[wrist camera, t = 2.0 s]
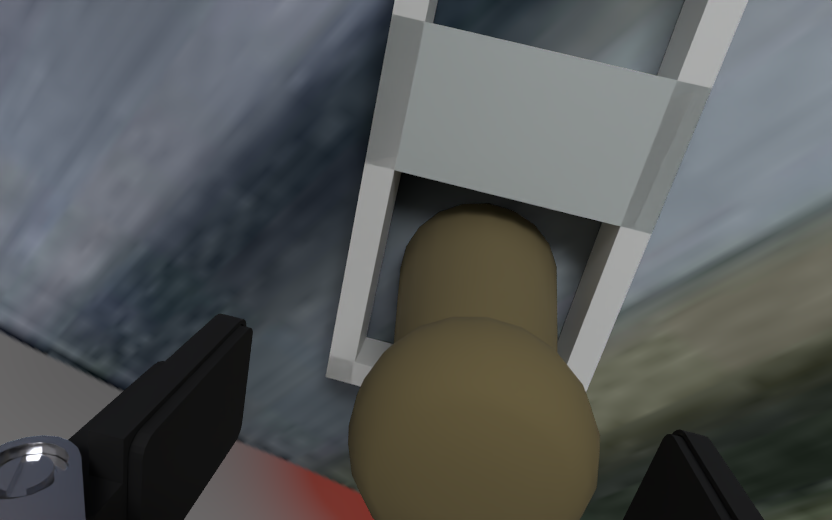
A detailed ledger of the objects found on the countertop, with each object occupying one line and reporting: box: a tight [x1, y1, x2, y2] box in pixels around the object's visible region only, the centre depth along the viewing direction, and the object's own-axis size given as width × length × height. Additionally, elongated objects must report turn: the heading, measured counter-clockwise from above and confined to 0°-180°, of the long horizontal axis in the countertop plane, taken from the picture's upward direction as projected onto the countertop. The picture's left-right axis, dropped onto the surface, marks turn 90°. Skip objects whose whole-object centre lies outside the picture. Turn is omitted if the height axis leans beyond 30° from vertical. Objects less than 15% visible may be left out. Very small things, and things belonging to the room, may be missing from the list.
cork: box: [348, 203, 600, 520], centre depth 14 cm, size 6×6×11 cm
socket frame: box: [326, 0, 748, 392], centre depth 16 cm, size 10×22×2 cm, turn 167°
